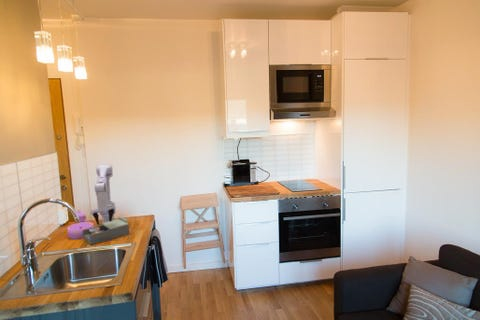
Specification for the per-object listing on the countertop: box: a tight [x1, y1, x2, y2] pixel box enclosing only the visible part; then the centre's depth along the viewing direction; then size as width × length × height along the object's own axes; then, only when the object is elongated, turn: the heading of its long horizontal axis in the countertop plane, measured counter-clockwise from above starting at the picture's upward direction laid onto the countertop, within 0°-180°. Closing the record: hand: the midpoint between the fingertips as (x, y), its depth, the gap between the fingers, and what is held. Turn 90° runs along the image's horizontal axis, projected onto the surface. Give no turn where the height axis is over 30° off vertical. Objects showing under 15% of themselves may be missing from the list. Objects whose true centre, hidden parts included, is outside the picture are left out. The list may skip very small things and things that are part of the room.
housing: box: [82, 224, 130, 246], centre depth 197 cm, size 14×24×6 cm, turn 133°
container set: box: [67, 209, 95, 240], centre depth 206 cm, size 25×15×13 cm, turn 27°
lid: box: [101, 215, 130, 229], centre depth 201 cm, size 14×12×3 cm
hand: (104, 222), depth 194 cm, fingers open, 7 cm apart
